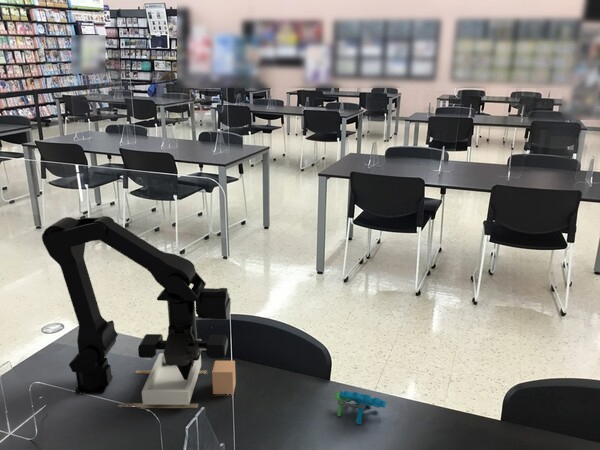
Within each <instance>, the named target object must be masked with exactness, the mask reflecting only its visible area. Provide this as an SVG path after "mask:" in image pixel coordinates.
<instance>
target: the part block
mask: <svg viewBox="0 0 600 450" xmlns="http://www.w3.org/2000/svg"><path fill="white" fill-rule="evenodd" d="M211 376H212V377H211V378H212V395H213V394H227V395H226V396H233V395H232V394H234V393H235V389H236V383H237V382H236V377H237V376H236V360H215V361H214V364H213V368H212V372H211ZM229 394H231V395H229Z"/></svg>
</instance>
